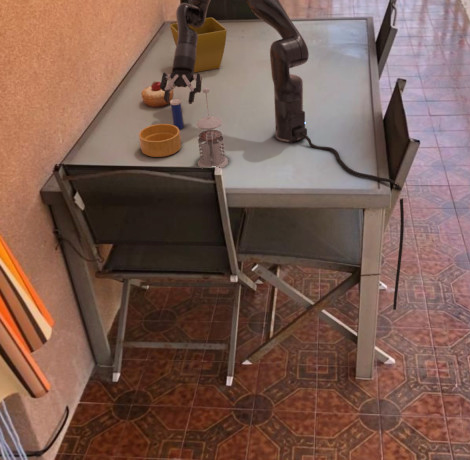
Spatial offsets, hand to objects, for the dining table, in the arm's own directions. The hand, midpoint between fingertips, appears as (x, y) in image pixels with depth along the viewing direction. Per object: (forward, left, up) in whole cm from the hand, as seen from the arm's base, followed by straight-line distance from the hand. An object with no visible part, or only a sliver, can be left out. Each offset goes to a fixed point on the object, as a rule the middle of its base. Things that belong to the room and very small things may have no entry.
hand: (178, 102), depth 228 cm
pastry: (+22, -4, -8) cm, 24 cm away
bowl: (-12, +15, -8) cm, 21 cm away
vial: (-2, +2, -8) cm, 9 cm away
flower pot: (+42, -37, -8) cm, 57 cm away
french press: (-32, +8, -8) cm, 34 cm away
